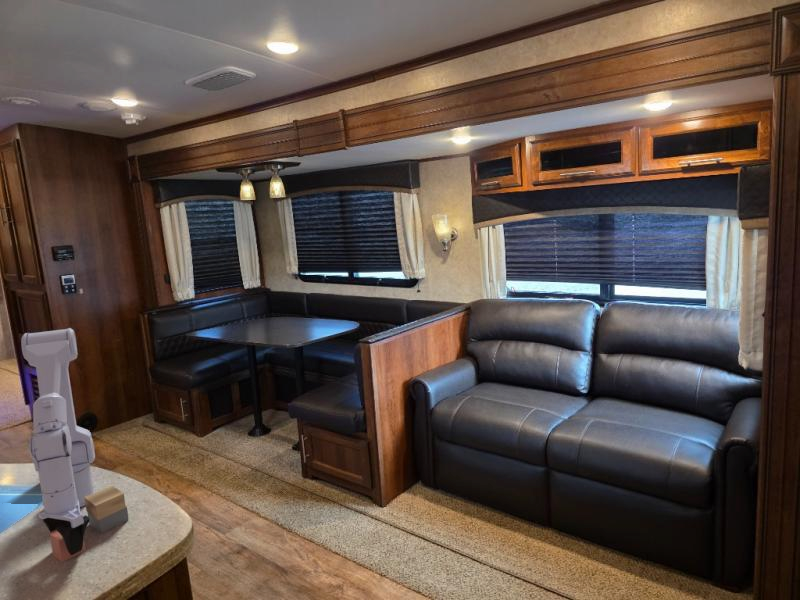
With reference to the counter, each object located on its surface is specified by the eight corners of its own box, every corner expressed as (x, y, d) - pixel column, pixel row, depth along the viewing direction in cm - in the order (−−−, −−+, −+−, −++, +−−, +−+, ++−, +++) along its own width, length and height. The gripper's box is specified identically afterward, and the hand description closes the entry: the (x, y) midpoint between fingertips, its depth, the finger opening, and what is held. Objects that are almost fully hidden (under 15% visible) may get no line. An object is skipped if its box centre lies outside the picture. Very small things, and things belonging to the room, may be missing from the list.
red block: (52, 554, 108) (49, 533, 107) (76, 543, 112) (72, 521, 111) (62, 562, 105) (58, 540, 104) (85, 550, 109) (82, 528, 108)
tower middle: (86, 511, 117) (84, 497, 117) (114, 499, 122) (112, 485, 121) (97, 520, 114) (95, 505, 113) (125, 507, 118) (123, 493, 118)
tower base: (89, 525, 118) (87, 511, 118) (116, 512, 123) (114, 498, 122) (101, 534, 115) (99, 519, 114) (128, 520, 119) (126, 506, 119)
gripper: (21, 485, 107) (32, 544, 109) (51, 506, 98) (62, 570, 101) (59, 470, 112) (69, 527, 115) (90, 489, 104) (100, 550, 106)
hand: (68, 546), depth 108 cm, fingers open, 7 cm apart
